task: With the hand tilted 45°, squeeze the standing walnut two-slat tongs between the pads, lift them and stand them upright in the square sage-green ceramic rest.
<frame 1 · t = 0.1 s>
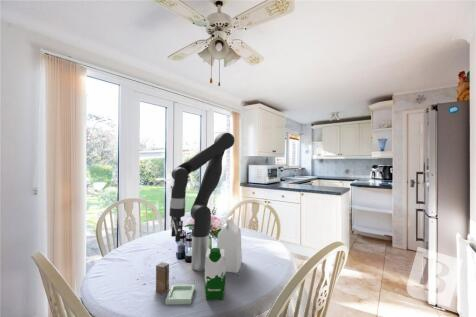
hand: (175, 238, 110), 17 cm above the table, tool pointing down, fingers open, 8 cm apart
milk: (229, 266, 117), on the table
milk carton: (215, 295, 92), on the table
rest: (181, 296, 91), on the table
tongs: (162, 290, 95), on the table
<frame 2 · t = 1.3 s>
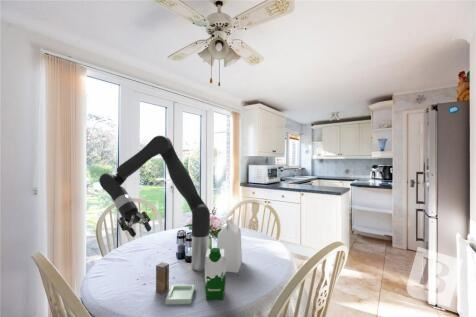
hand: (142, 233, 101), 23 cm above the table, tool tilted 45°, fingers open, 8 cm apart
nothing on the table moved.
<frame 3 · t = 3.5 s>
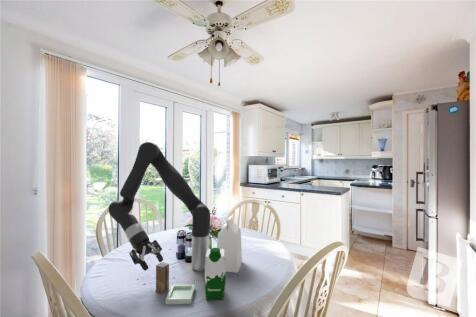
hand: (154, 265, 97), 10 cm above the table, tool tilted 45°, fingers open, 8 cm apart
nothing on the table moved.
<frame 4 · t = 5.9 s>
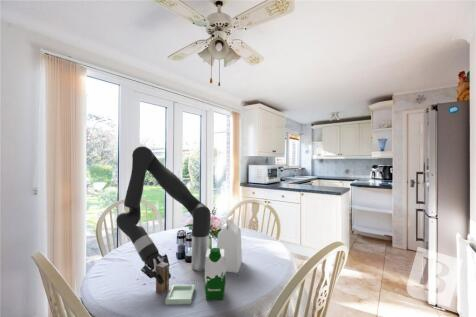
hand: (166, 280, 94), 5 cm above the table, tool tilted 45°, fingers closed on tongs, 3 cm apart
tongs: (162, 290, 95), on the table, touching gripper
everything else where it was.
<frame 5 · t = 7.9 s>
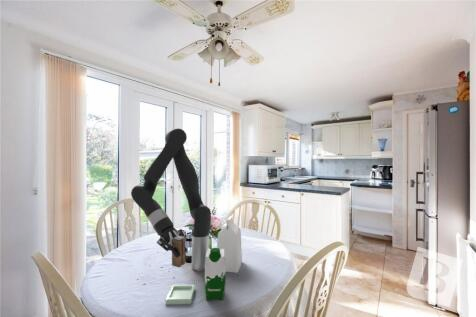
hand: (182, 254, 91), 18 cm above the table, tool tilted 45°, fingers closed on tongs, 3 cm apart
tongs: (178, 264, 92), point 13 cm above the table, touching gripper
everything else where it was.
when the fingers open (7 cm above the table, at t = 10.5 s): tongs drops 1 cm, resting on rest.
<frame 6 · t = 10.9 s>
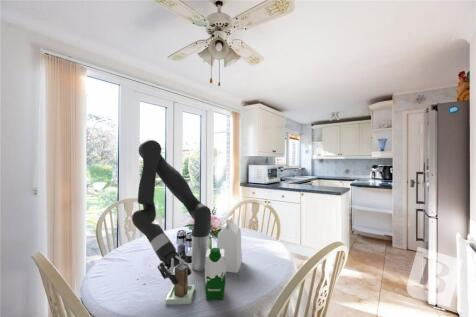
hand: (183, 279, 91), 8 cm above the table, tool tilted 45°, fingers open, 8 cm apart
tongs: (181, 294, 91), point 1 cm above the table, touching rest
everything else where it was.
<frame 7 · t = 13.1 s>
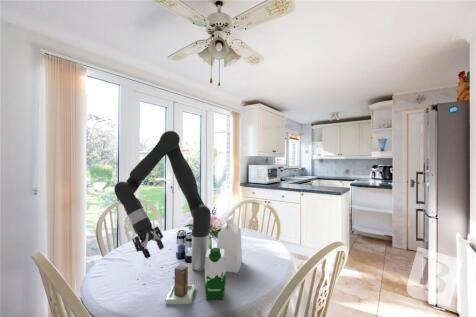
hand: (155, 253, 97), 15 cm above the table, tool tilted 30°, fingers open, 8 cm apart
nothing on the table moved.
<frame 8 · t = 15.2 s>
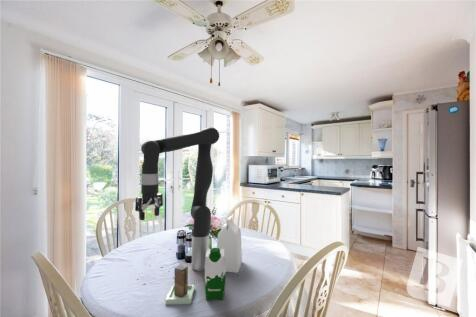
hand: (149, 217, 102), 30 cm above the table, tool pointing down, fingers open, 8 cm apart
nothing on the table moved.
at the end: tongs inside the target area on the rest (0.0 cm from its centre), point 0.8 cm above the rest's base; tongs tilted 0°; the gripper is holding nothing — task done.
